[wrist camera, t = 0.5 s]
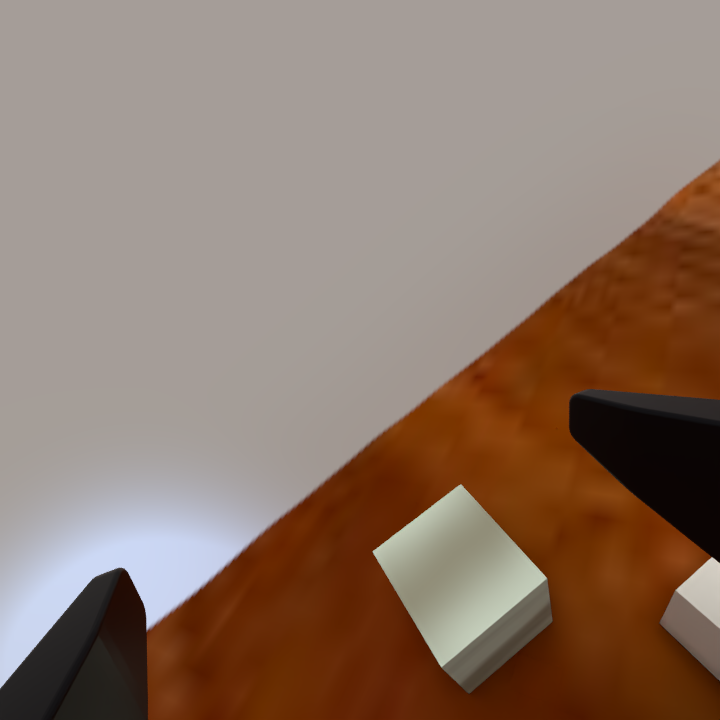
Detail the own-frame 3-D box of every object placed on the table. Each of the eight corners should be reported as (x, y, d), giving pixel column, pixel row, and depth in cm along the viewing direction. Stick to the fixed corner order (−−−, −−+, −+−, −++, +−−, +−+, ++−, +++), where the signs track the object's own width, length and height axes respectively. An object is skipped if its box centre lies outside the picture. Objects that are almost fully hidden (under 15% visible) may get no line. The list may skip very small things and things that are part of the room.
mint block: (552, 621, 20) (546, 578, 16) (469, 694, 19) (441, 667, 15) (479, 536, 23) (460, 484, 19) (407, 594, 22) (372, 551, 19)
